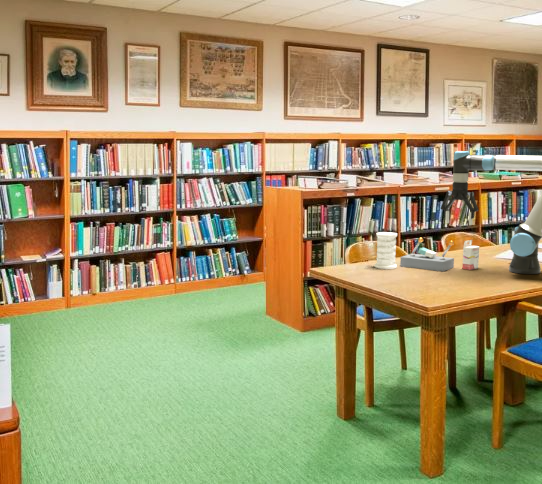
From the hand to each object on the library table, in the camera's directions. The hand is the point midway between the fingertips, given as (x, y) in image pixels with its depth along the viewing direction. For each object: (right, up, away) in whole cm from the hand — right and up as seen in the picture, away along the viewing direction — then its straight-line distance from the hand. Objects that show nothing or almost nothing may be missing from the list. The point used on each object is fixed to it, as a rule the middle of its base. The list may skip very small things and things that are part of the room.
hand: (458, 224), depth 329 cm
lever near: (-6, -17, +7) cm, 19 cm away
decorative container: (-35, -23, +13) cm, 44 cm away
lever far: (-20, -15, +18) cm, 31 cm away
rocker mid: (-13, -16, +13) cm, 24 cm away
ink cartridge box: (+9, -23, +9) cm, 27 cm away
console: (-13, -22, +13) cm, 29 cm away
